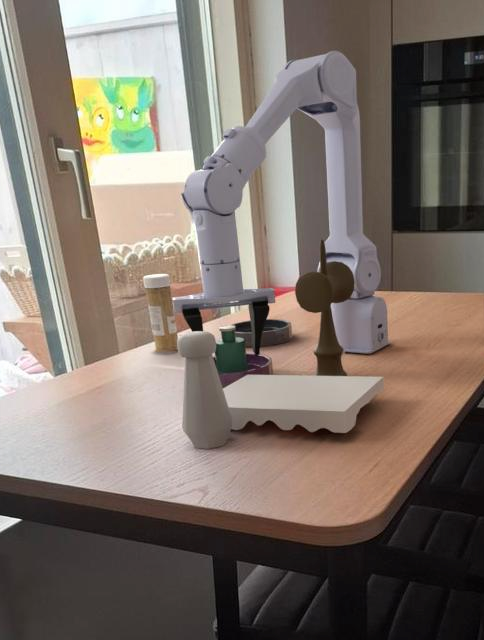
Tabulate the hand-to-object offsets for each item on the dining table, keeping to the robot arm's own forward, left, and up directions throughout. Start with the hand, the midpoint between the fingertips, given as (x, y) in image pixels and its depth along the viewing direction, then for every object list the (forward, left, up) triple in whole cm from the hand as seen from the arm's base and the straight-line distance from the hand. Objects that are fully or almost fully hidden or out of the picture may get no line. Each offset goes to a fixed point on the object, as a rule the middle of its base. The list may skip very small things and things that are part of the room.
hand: (231, 356), depth 104 cm
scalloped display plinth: (-17, +10, -4) cm, 20 cm away
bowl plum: (0, 0, -4) cm, 4 cm away
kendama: (-14, -5, -4) cm, 15 cm away
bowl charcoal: (+12, -24, -4) cm, 27 cm away
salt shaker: (-13, +22, -4) cm, 26 cm away
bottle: (0, 0, -4) cm, 4 cm away
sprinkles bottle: (+25, -13, -4) cm, 29 cm away
